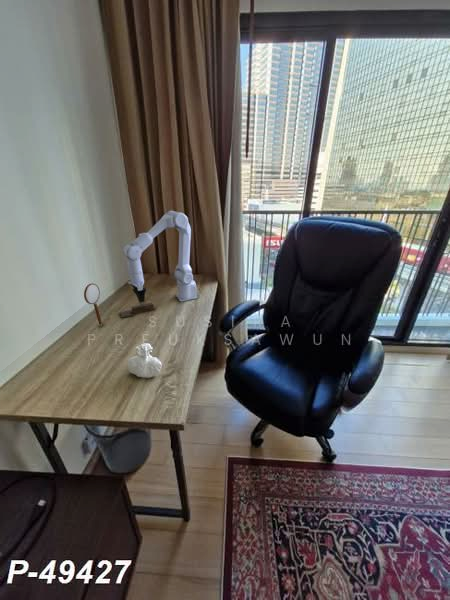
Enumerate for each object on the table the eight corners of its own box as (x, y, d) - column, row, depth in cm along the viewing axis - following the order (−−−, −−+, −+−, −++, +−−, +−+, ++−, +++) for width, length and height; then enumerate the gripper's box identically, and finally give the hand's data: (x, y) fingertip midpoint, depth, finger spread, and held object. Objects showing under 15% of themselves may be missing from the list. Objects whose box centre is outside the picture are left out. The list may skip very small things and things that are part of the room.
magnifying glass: (96, 331, 107) (84, 288, 97) (93, 331, 107) (80, 288, 98) (108, 320, 114) (98, 280, 105) (105, 320, 115) (94, 280, 105)
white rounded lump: (164, 377, 85) (168, 344, 87) (156, 380, 78) (160, 344, 80) (131, 374, 87) (136, 341, 89) (120, 376, 80) (125, 341, 82)
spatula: (152, 306, 126) (151, 301, 124) (154, 311, 122) (153, 305, 120) (121, 313, 120) (119, 307, 119) (122, 318, 116) (120, 312, 115)
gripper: (124, 268, 117) (129, 294, 123) (128, 278, 105) (133, 307, 111) (140, 265, 120) (144, 291, 126) (145, 275, 108) (149, 303, 114)
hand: (140, 298), depth 119 cm, fingers open, 7 cm apart
